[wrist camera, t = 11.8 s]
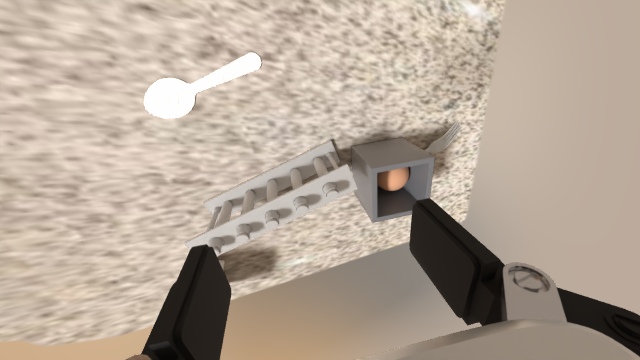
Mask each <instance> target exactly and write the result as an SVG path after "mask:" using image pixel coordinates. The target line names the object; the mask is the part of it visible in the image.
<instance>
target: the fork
mask: <svg viewBox="0 0 640 360" xmlns="http://www.w3.org/2000/svg"><path fill="white" fill-rule="evenodd" d="M458 121H459V120H457V121H456V122H455V124H454V125H453V126H452V127H451V128H450V129H449V130H448V131H447V132H446V133H445V134H444V135H443V136H442V137H440V138H439V139H437V140H435V141H433V142H432V143H431V144H430V146H429V147H428V148H427V149H425V150H424V151H426V152H427V153H429V152H433V153H439V152H441V151H443V150H444V149H446V148H447V147H448V146H449V144H450V143H451V142H452V141H453V140H454V138H455V137H456V135H457V134H458V133H459V131H460V129H461V128H462V127H460V125H459V126H458V124H459V123H458V124H457V125H456V123H457V122H458ZM455 125H456V126H455ZM454 126H455V128H454ZM457 126H458V127H457ZM456 127H457V129H456ZM459 127H460V128H459ZM453 128H454V129H453ZM458 128H459V130H458ZM452 129H453V130H452ZM455 129H456V130H455ZM451 130H452V131H451ZM454 130H455V131H454ZM457 130H458V131H457ZM450 131H451V132H450ZM453 131H454V132H453ZM456 131H457V133H456ZM449 133H450V134H449ZM452 133H453V134H452ZM455 133H456V134H455ZM448 134H449V135H448ZM451 134H452V135H451ZM454 134H455V135H454ZM447 135H448V136H447ZM450 135H451V136H450ZM453 135H454V136H453ZM446 136H447V137H446ZM445 137H446V138H445ZM451 138H452V139H451ZM450 139H451V140H450ZM449 140H450V141H449ZM448 141H449V142H448ZM447 142H448V143H447ZM446 143H447V144H446Z"/></svg>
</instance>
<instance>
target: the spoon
mask: <svg viewBox="0 0 640 360" xmlns="http://www.w3.org/2000/svg"><path fill="white" fill-rule="evenodd" d="M260 67H261V59H260V57H259V56H258V55H257V54H256V53H253V52H252V53H248V54H246V55H244V56H243V57H241V58H238V59H237V60H235V61H233V62H231V63H229V64H228V65H225V66H223V67H222V68H220V69H218V70H216V71H214V72H212V73H211V74H209V75H207V76H205V77H203V78H202V79H199V80H197V81H196V82H194V83H191V84H190V83H186V82H184V81H182V80H180V79H177V78H164V79H160V80H158V81H156V82H155V83H154V84H152V85H151V86H150V87H149V89H148V91H147V92H146V93H145V96H144V103H143V104H144V107H145V109H146V110H147V111H148V113H150V114H151V115H153V116H156V117H159V118H166V119H171V118H179V117H182V116H184V115H186V114H188V113H189V112H190V111H191V110H192V109H193V106H194V104H195V96H196V94H197V93H198V92H201V91H203V90H205V89H208V88H211V87H213V86H217V85H219V84H222V83H224V82H227V81H230V80H232V79H235V78H237V77H240V76H242V75H245V74H248V73H251V72H254V71H256V70H258V69H259V68H260Z"/></svg>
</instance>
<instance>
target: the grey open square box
mask: <svg viewBox="0 0 640 360" xmlns="http://www.w3.org/2000/svg"><path fill="white" fill-rule="evenodd" d="M351 153H352V170H353V179H354V181H355V183H356V186H357V188H358V189H357V190H355V191H354V193H355V195H356V197H357V198H358V200H359V201H360V203H361V205H362V206H363V208H364V210H365V211H366V213H367V214H368V216H369V218H370V219H371V221H372V223H374V222H379V221H383V220H388V219H393V218H397V217H402V216H407V215H411V214H412V208H413V205H414V204H415V203H416V201H417V200H421V199H426V198H430V194H431V185H432V177H433V169H434V160H435V157H434V156H432V155H431V154H429V153H427V152H426V151H424V150H422V149H421V148H419V147H417V146H416V145H414V144H412V143H411V142H409V141H407V140H406V139H404V138H402V137H401V138H395V139H389V140H384V141H378V142H372V143H367V144H361V145H355V146H351ZM405 167H408V169H409V178H408V181H407V183H406V184H405V185H404V186H403V187H402V188H400V189H398V190H394V191H388V190H384V189H382V188H381V187H379V186H378V185H377V173H379V172H384V171H390V170H395V169H400V168H405Z"/></svg>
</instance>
